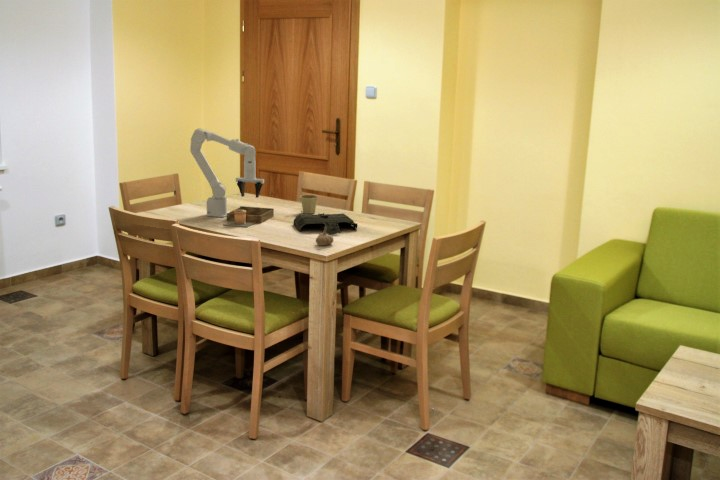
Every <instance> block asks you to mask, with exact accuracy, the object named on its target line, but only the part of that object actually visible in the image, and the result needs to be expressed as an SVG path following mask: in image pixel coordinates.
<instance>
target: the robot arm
mask: <svg viewBox="0 0 720 480" xmlns="http://www.w3.org/2000/svg"><path fill="white" fill-rule="evenodd" d="M205 141H206V142H212V141H213V142H216V143H219V144H221V145H224V146H226V147H227V148H228V149H229V150H230V151H233V152H235V153H236V154H238V155H244V159H243V177H235V183H236V185H237V187H238V189H239V193H240V196H241V198H242V197H243V198H244V197H245V184H246V183H250V184H251V183H252V184H253V183H254V187H255V198H259V196H260V192H261V189H262V188H263V185H264V184H265V178H259V177H258V178H257V176H256V172H257V171H256V168H257V165H256V164H257V163H256V162H257V161H256V153H257V152H256V148H255V146H254V145H252V144H249V143H248V142H243V141H240V139H239V138H236V139H235V138H233V139H229V138H226V137H224V136H222V135H220V134H217V133H216V132H213V131H210V130H207V129H203V128H197V129H195V130H194V131H193V133H192V134H191V138H190V149H189V151H190V154H191V155H192V156H193V159H194V160H195V162H196V163H197V165H198V167H199V169H200V170H201V172H202V174H203V175H204V177H205V179H206V180H207V182H208V184H209V186H210V189H211V191H212V195H211V197H208V198H207V199H206V215H205V216H206V217H216V218H225V217H227V213H228V208H227V202H228V201H227V196H226V187H225V185H224V184H223V183H222V182H221V181H220V180H219V179H218V177H217V175H216V174H215V172H214V171H213V169H212V166H211V164H209V162H208V160H207V158H206V156H205V155H204V153H203V151H202V146H203V144H204V142H205Z"/></svg>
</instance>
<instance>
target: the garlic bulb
mask: <svg viewBox="0 0 720 480" xmlns="http://www.w3.org/2000/svg"><path fill="white" fill-rule="evenodd" d="M326 228H327V227H325V226H324V229H323V232H321V233H319V234H318V235H317V237H316V238H315V243H316V244H317V245H318V246H321V245H322V246H323V245H326V246H328V245H330V244H333V242H334V237H333V236H332V235H331V234H327V229H326Z"/></svg>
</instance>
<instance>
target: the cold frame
mask: <svg viewBox="0 0 720 480" xmlns="http://www.w3.org/2000/svg"><path fill="white" fill-rule="evenodd" d="M234 210H246V222H254V224H262V222H263V223H264V222H266V221H268V220H269V219H272V218H273V217H274V216H275V215H274V214H275V213H274V208H272V207H271V208H270V207H258V206H257V207H256V206H246V205H245V206H244V205H243V206H242V205H241V206H240V205H239V207H237V208H235V209H233V210H231V211H229V212H227V216H226V221H227V222H229V221H235V213H234Z"/></svg>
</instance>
